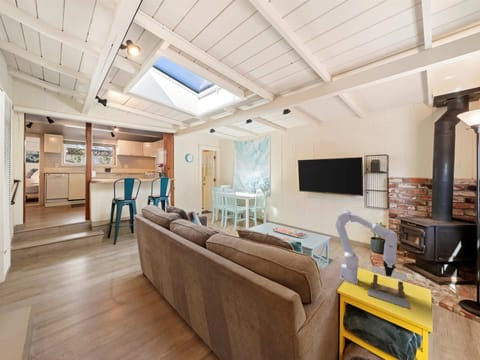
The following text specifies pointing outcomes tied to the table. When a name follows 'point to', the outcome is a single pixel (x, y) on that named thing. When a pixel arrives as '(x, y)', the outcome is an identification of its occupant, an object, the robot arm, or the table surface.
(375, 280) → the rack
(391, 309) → the table surface
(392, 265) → the robot arm
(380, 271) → the rail
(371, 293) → the mat
